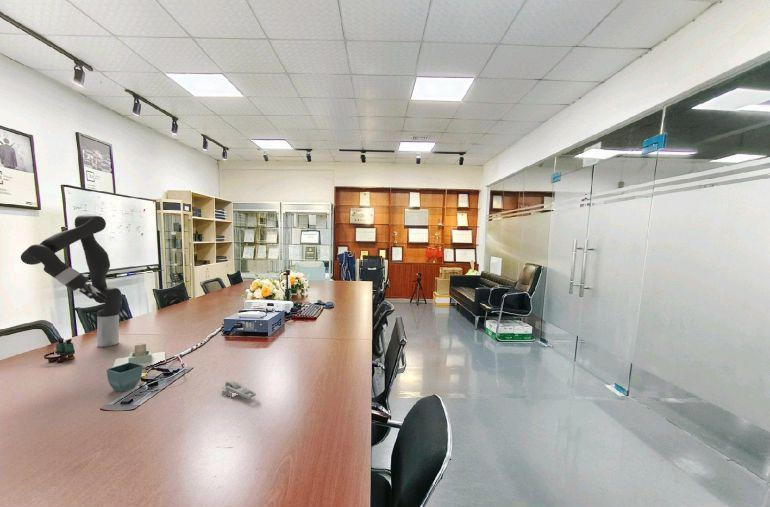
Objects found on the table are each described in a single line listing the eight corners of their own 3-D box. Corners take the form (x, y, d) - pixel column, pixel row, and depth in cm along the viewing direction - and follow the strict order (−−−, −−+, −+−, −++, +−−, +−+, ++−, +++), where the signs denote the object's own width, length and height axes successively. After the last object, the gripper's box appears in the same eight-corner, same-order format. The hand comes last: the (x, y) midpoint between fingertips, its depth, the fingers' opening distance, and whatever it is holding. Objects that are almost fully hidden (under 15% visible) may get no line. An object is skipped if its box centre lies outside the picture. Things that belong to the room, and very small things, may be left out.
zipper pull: (242, 407, 114) (242, 396, 114) (217, 393, 124) (217, 382, 123) (261, 398, 120) (261, 388, 120) (235, 386, 130) (235, 376, 130)
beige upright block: (135, 360, 151) (135, 344, 151) (146, 358, 154) (146, 342, 154) (134, 363, 148) (134, 346, 148) (145, 361, 150) (145, 345, 150)
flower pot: (143, 385, 127) (144, 365, 127) (119, 395, 119) (119, 373, 119) (129, 382, 130) (130, 361, 130) (105, 391, 122) (105, 369, 122)
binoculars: (38, 344, 144) (62, 336, 154) (41, 365, 146) (64, 355, 156) (54, 345, 144) (77, 337, 153) (57, 366, 145) (80, 357, 155)
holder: (115, 360, 152) (115, 352, 152) (164, 353, 164) (164, 345, 164) (111, 373, 138) (111, 363, 138) (165, 364, 150) (165, 355, 150)
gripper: (76, 274, 139) (110, 297, 147) (82, 271, 151) (113, 292, 158) (60, 286, 136) (94, 309, 144) (67, 282, 148) (99, 303, 155)
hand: (104, 300), depth 151 cm, fingers open, 8 cm apart
